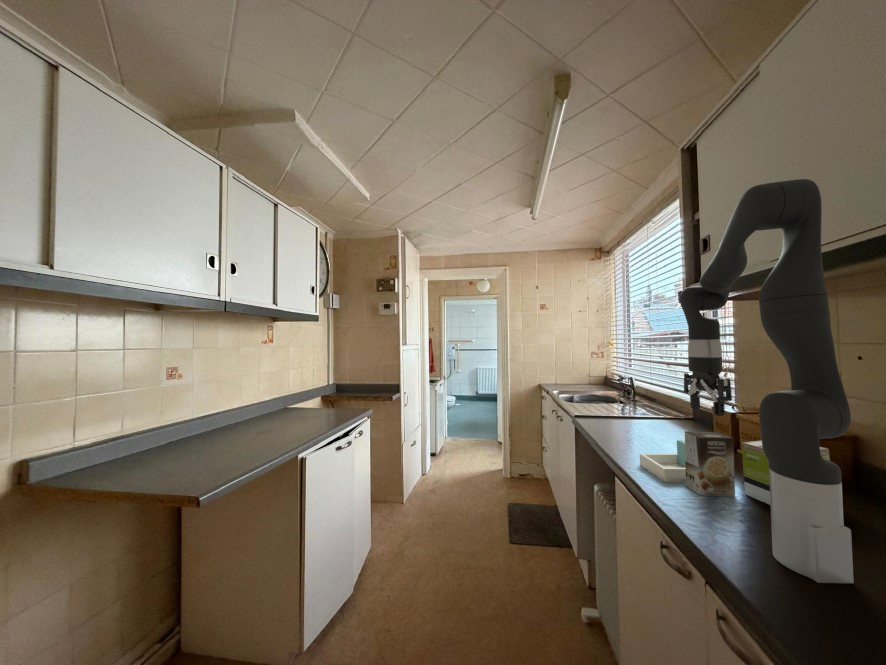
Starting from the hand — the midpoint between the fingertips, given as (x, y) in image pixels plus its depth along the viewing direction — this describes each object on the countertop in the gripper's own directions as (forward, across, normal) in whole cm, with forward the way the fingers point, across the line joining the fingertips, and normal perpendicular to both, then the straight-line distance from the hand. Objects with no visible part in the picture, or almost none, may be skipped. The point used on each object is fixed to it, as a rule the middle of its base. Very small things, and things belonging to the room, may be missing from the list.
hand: (706, 412), depth 91 cm
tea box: (+23, -5, -16) cm, 28 cm away
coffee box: (+23, 0, 0) cm, 23 cm away
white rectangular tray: (+22, +12, 0) cm, 25 cm away
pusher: (+21, +12, -4) cm, 24 cm away
